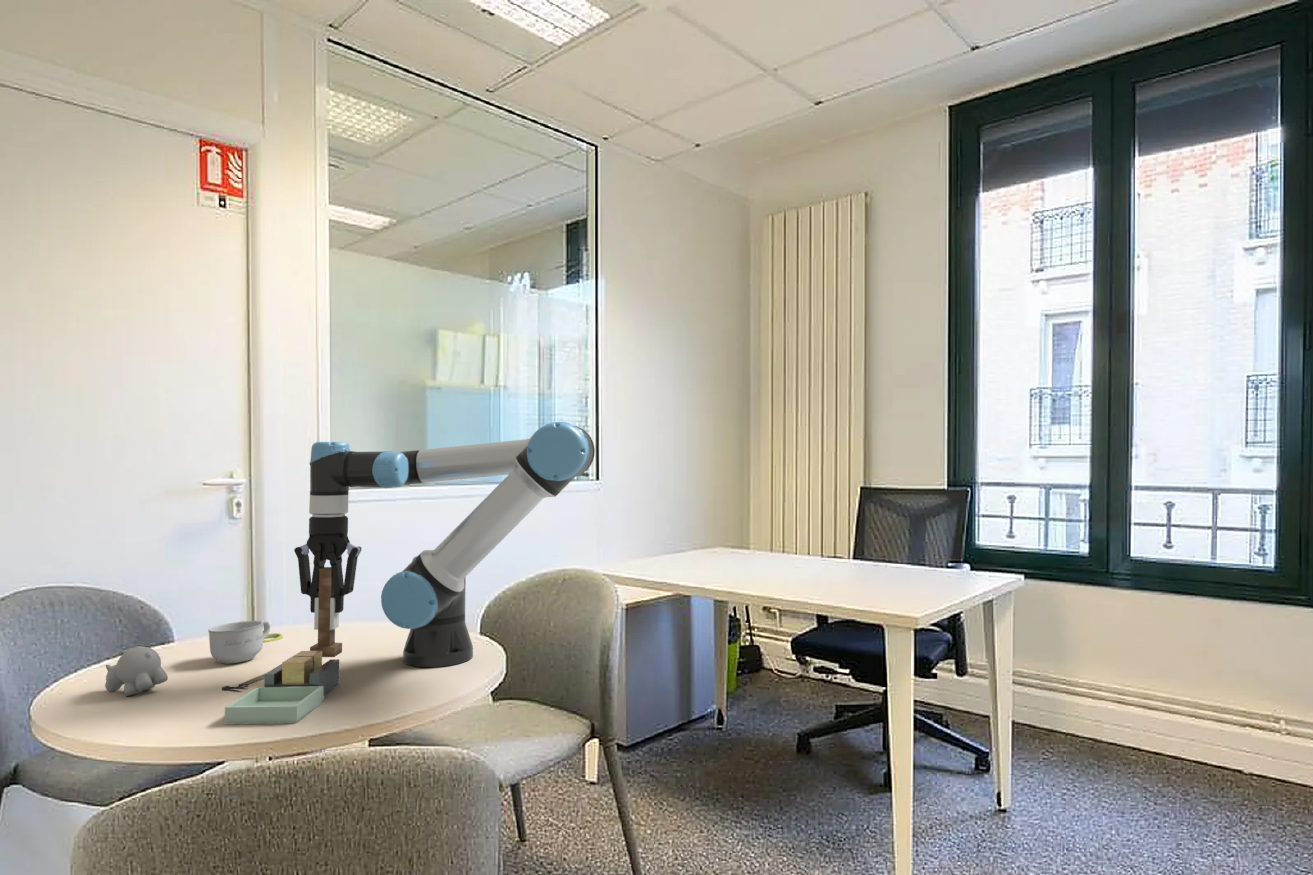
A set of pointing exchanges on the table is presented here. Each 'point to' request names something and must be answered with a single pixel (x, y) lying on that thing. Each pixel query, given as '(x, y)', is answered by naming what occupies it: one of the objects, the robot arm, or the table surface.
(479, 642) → the table surface
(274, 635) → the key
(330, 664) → the graphite slot block
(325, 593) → the walnut t-shaped block
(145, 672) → the toy rhinoceros
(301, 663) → the front bronze block
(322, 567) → the robot arm
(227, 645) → the teacup
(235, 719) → the sage tray
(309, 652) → the rear bronze block
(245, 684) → the tactical tomahawk
